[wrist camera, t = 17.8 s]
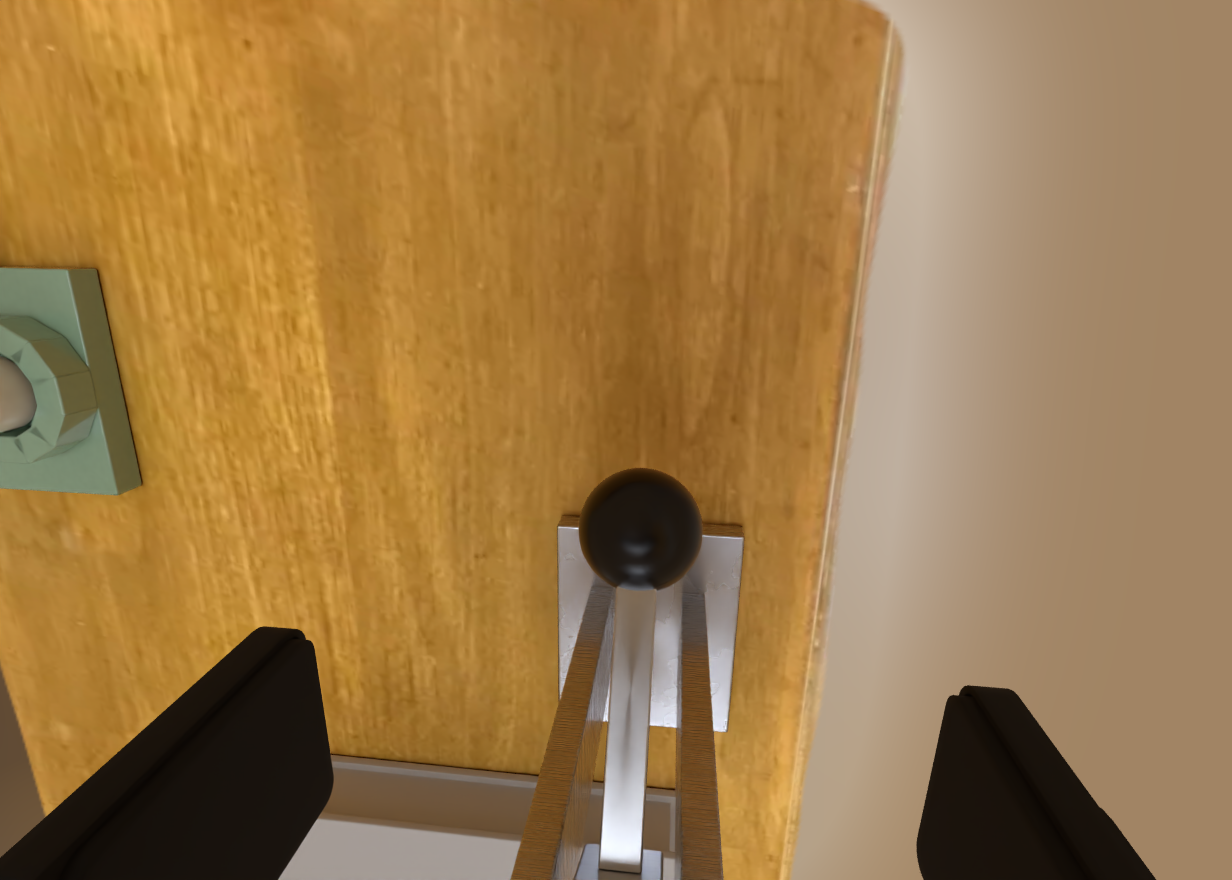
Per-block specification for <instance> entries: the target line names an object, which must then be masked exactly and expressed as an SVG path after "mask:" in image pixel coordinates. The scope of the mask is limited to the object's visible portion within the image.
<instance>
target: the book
mask: <svg viewBox="0 0 1232 880" xmlns="http://www.w3.org/2000/svg"><path fill="white" fill-rule="evenodd" d="M331 761H332V767H333V774H334V783H333V789H332V793H331V796H330V798H329V801H328V802H327V804H326V806H325V808H324V809H323V811H322V812H321V814H320V815H319V817H318V819H317V820H316V822H315V823H314V825H313V826H312V828H311V829H310V831H309V833H308V834H307V836H306V837H305V839H304V840H303V842H302V843H301V845H300V847H299V848H298V850H297V851H296V853H295V854H294V856H293V857H292V859H291V861H290V862H289V864H288V865H287V867H286V868H285V870H284V871H283V873H282V875H281V876H280V878H279V879H278V880H510V879H511V876H512V872H513V868H514V865H515V861H516V857H517V854H518V850H519V847H520V843H521V839H522V836H523V832H524V828H525V825H526V821H527V817H528V814H529V810H530V807H531V803H532V799H533V796H534V792H535V788H536V785H537V781H538V777H539V776H531V775H521V774H512V773H502V772H492V771H483V770H473V769H463V768H454V767H444V766H434V765H425V764H415V763H406V762H396V761H386V760H377V759H367V758H357V757H348V756H338V755H331ZM603 785H604V783H598V782H593V783H592V789H591V795H590V801H589V807H588V812H587V818H586V824H585V830H584V836H583V842H582V848H581V854H582V851H583V848H584V845H585V844H587V843H588V844H598V845H600V830H601V815H602V800H603ZM643 849H644V850H653V851H661V852H662V853H663V856H664V857H663V880H674V864H675V790H666V789H656V788H647V787H646V806H645V825H644V845H643ZM581 854H580V857H581ZM579 860H580V859H579Z"/></svg>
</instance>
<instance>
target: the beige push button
mask: <svg viewBox="0 0 1232 880" xmlns="http://www.w3.org/2000/svg"><path fill="white" fill-rule="evenodd" d="M36 408H37V404H36V400H35V396H34V392H33V388H32V384H31V383H30V381H29V380H28V379H27V377H26V376H25V375H24V374H23V372H22V371H21V370H20V368H19V367H18V366H17V364H15V363H14V362H12V361H11V360H9V359H7V358H5V357H2V356H0V433H2V432H6V431H10V430H13V429H17V428H20V427H23V426H25V425H26V424H28V423H29V422H30V421H31V420H32V418H33V417H34V415H35V412H36Z"/></svg>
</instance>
